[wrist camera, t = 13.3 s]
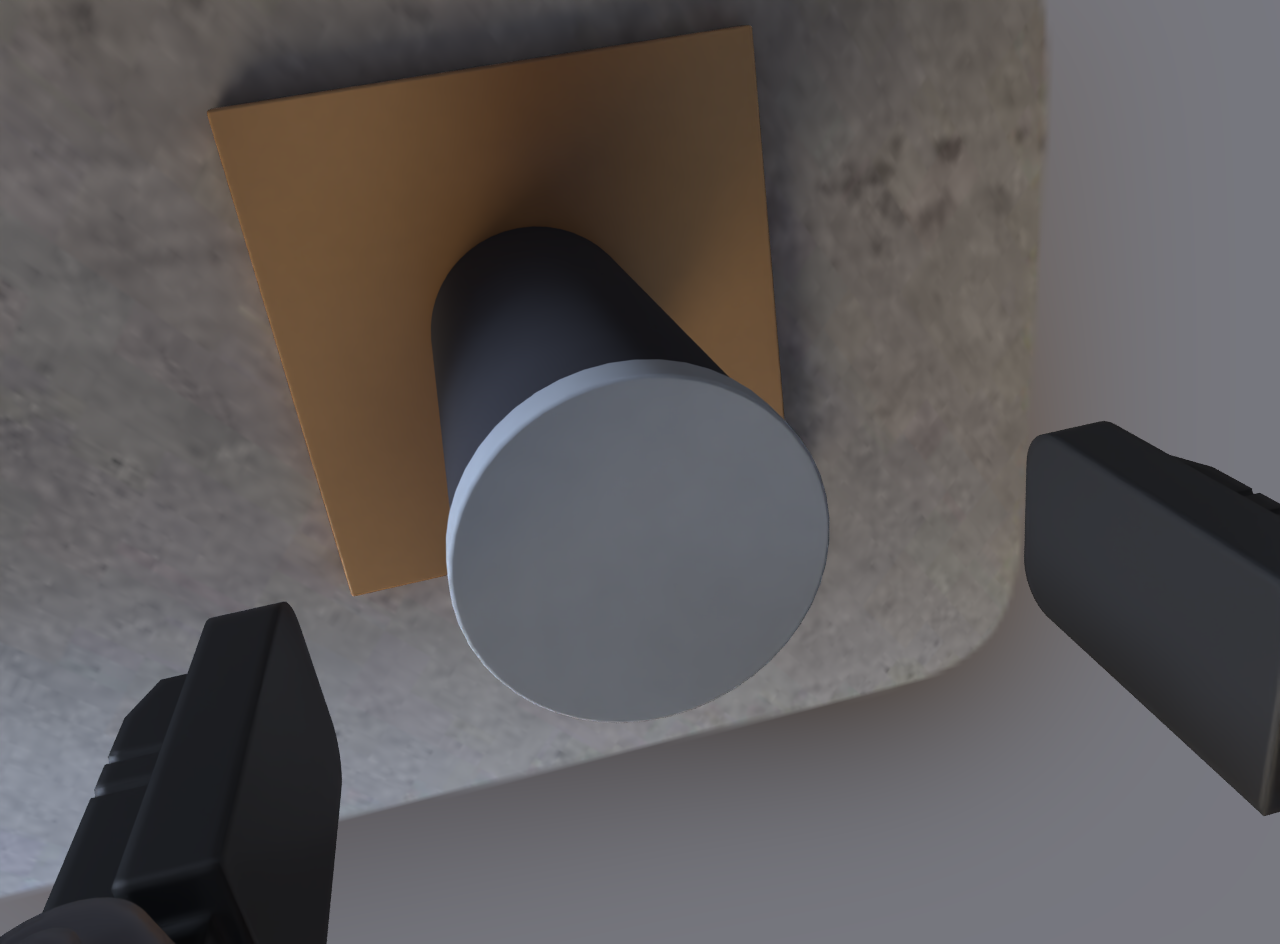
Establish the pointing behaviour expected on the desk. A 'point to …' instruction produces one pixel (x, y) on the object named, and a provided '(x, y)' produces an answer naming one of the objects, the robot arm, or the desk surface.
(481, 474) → the roller
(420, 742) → the desk surface
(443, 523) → the pad
